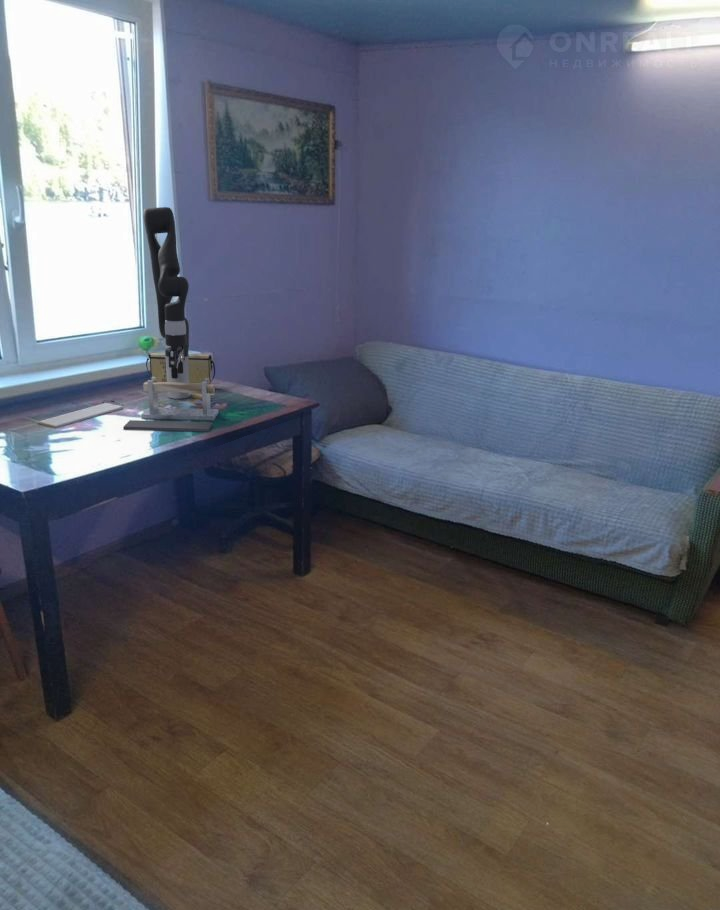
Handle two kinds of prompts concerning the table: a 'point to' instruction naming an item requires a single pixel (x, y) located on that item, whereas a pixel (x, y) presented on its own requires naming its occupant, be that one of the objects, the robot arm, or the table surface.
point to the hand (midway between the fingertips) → (177, 375)
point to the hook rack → (179, 413)
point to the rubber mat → (168, 425)
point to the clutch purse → (197, 367)
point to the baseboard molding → (80, 415)
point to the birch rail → (179, 387)
